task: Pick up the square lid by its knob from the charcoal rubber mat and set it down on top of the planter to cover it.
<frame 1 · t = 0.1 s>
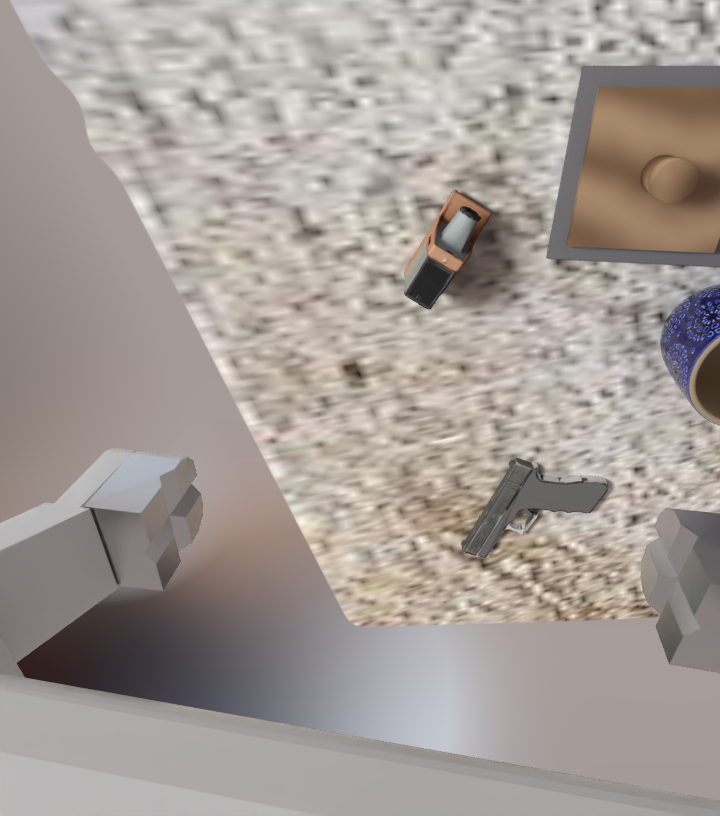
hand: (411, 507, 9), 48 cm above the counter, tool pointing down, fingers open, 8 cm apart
mat: (655, 172, 47), on the counter
planter: (707, 324, 54), on the counter
electronic device: (446, 241, 54), on the counter
lid: (656, 173, 47), resting on mat
handgun: (528, 511, 71), on the counter
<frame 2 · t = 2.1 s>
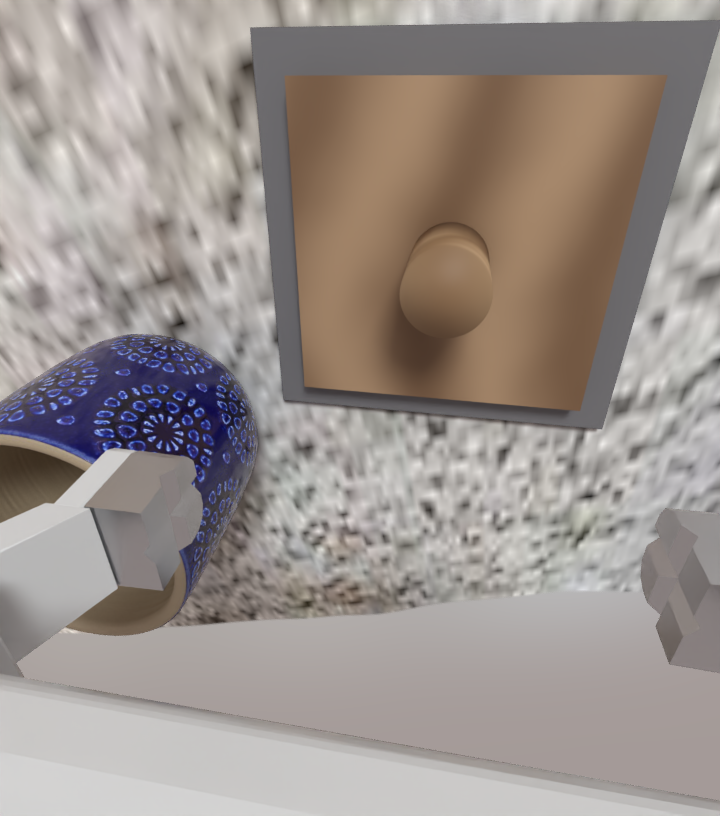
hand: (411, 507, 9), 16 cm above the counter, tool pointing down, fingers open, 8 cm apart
mat: (450, 253, 23), on the counter
planter: (186, 399, 30), on the counter
lid: (449, 255, 22), resting on mat
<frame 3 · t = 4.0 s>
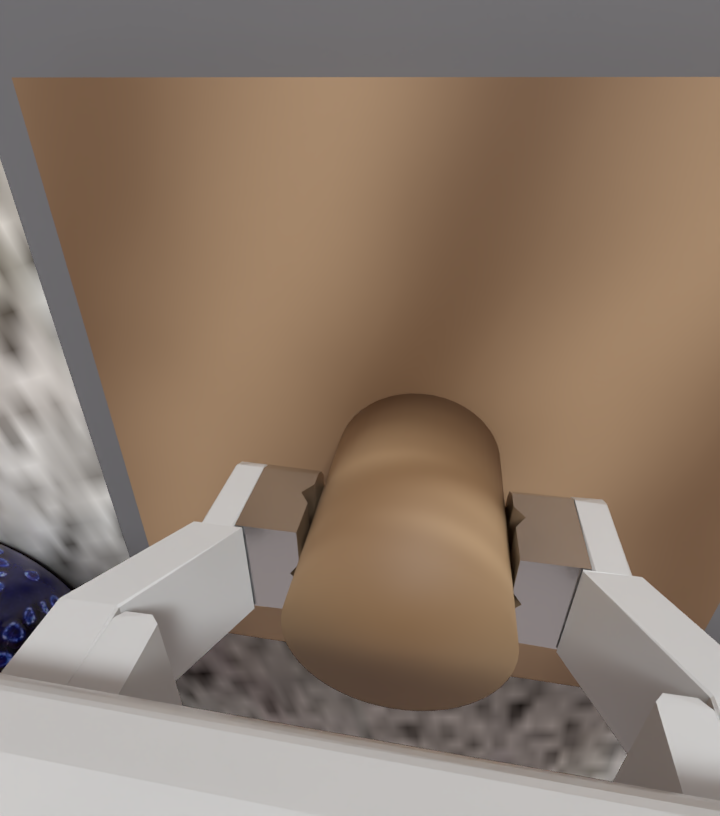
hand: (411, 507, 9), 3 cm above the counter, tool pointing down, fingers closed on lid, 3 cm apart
mat: (421, 424, 12), on the counter
planter: (6, 598, 19), on the counter
lid: (420, 435, 11), resting on mat, touching gripper
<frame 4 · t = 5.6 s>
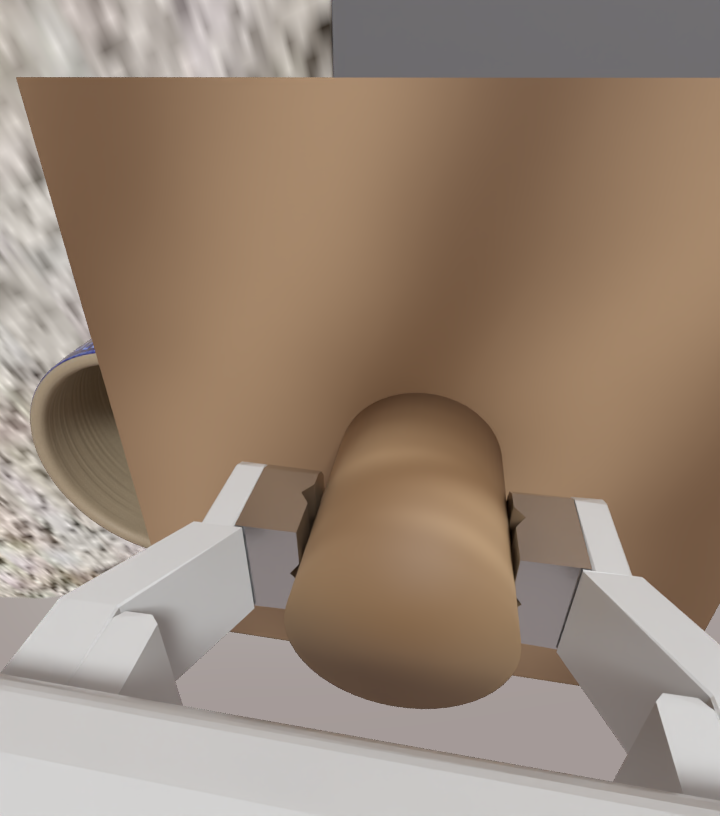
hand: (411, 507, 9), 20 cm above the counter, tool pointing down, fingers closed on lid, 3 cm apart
mat: (504, 203, 25), on the counter
planter: (244, 351, 32), on the counter
lid: (422, 434, 11), point 17 cm above the counter, touching gripper
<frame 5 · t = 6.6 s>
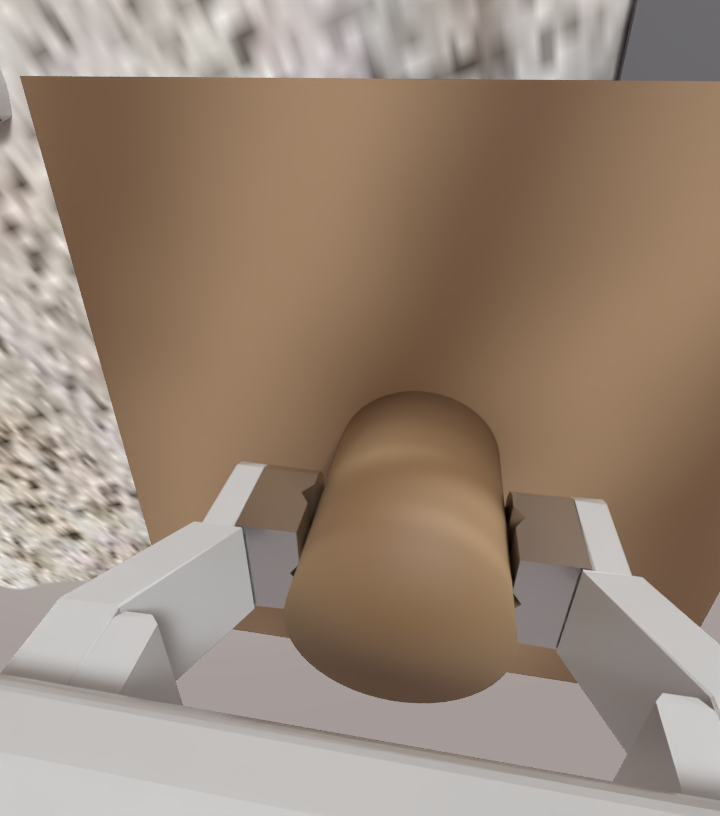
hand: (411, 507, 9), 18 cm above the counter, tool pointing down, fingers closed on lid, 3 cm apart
lid: (421, 432, 11), point 16 cm above the counter, touching gripper
when the fingers open (15 cm above the counter, at t = 7.3 s): lid drops 1 cm, resting on planter.
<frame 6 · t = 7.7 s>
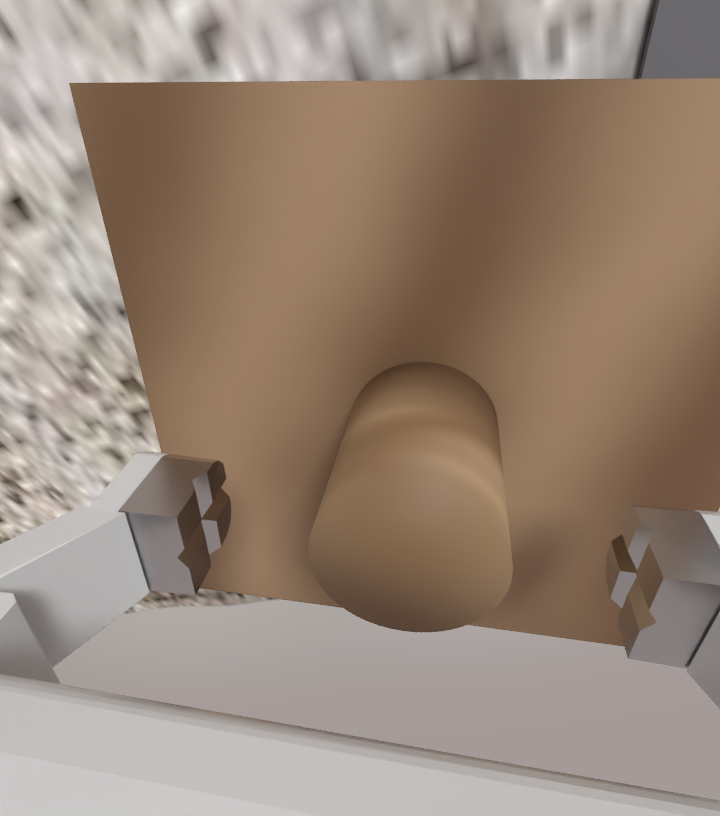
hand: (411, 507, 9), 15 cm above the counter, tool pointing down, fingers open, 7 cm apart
lid: (425, 403, 12), point 11 cm above the counter, touching planter
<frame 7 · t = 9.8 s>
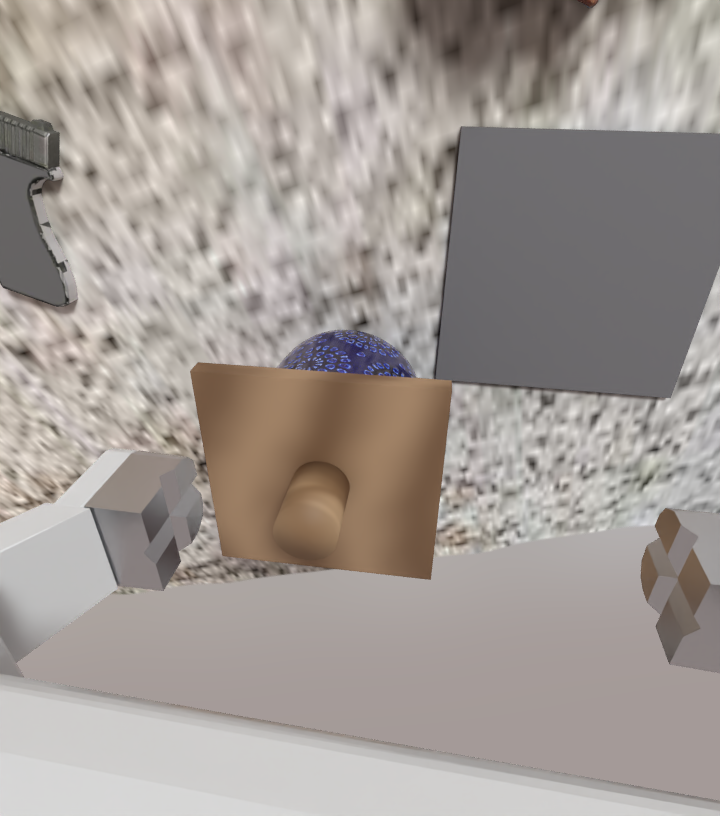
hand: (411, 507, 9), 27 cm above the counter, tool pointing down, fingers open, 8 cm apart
mat: (575, 274, 33), on the counter
planter: (353, 380, 40), on the counter, touching lid
lid: (324, 473, 30), point 11 cm above the counter, touching planter
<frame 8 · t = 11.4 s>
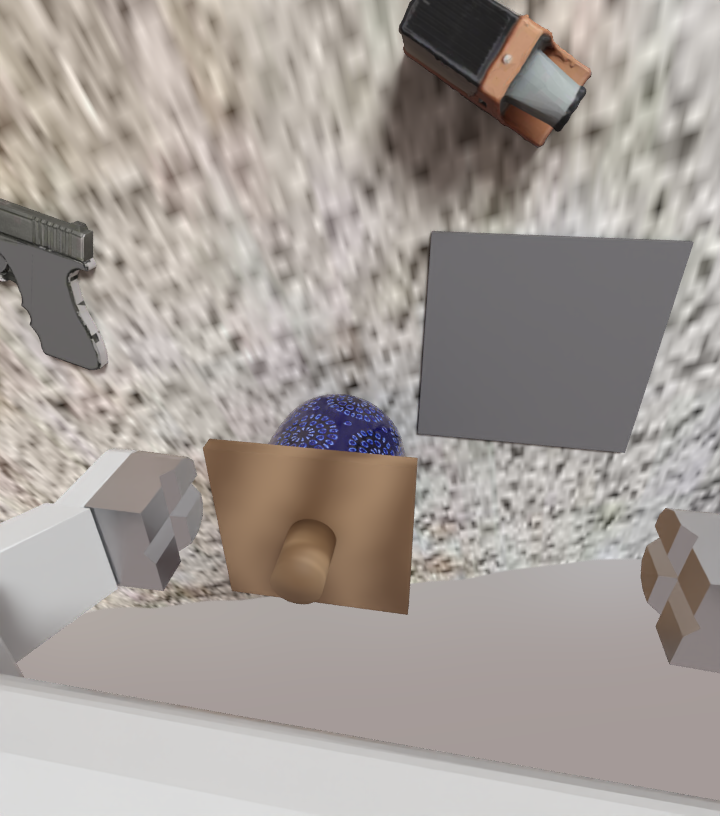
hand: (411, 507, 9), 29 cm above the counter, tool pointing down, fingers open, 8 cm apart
mat: (535, 349, 38), on the counter
planter: (347, 432, 45), on the counter, touching lid
electronic device: (495, 63, 30), on the counter
lid: (316, 526, 35), point 11 cm above the counter, touching planter
handgun: (4, 264, 43), on the counter
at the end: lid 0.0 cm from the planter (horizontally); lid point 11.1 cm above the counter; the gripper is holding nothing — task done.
